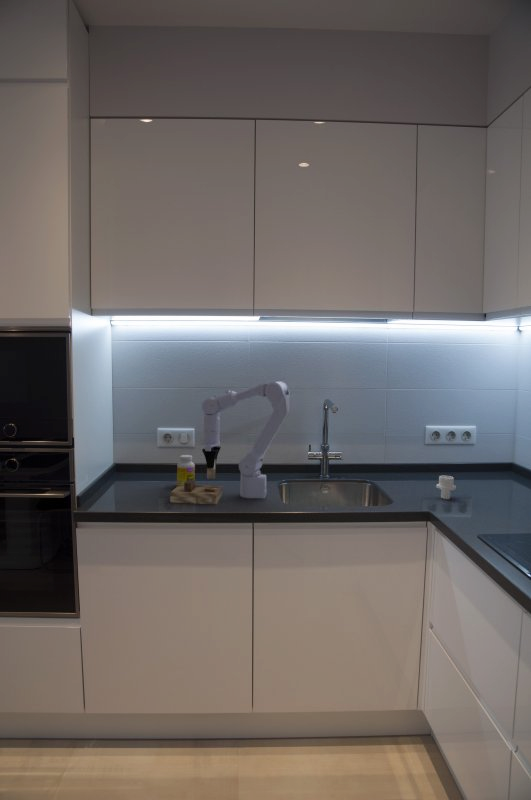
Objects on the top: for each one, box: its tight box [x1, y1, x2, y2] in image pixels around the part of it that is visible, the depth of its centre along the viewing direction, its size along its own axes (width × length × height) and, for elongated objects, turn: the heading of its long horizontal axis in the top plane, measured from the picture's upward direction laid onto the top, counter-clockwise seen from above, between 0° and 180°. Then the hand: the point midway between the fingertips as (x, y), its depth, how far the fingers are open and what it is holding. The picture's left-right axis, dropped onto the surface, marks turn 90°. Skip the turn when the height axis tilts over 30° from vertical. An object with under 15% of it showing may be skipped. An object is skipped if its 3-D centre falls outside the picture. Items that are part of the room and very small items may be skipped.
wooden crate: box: [169, 484, 223, 505], centre depth 192 cm, size 16×11×4 cm
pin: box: [206, 463, 216, 480], centre depth 202 cm, size 3×3×7 cm
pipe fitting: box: [435, 475, 457, 500], centre depth 204 cm, size 6×7×8 cm
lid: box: [171, 479, 221, 496], centre depth 192 cm, size 16×9×4 cm, turn 85°
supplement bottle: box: [176, 454, 196, 487], centre depth 209 cm, size 7×7×13 cm
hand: (211, 467), depth 202 cm, fingers closed on pin, 3 cm apart
